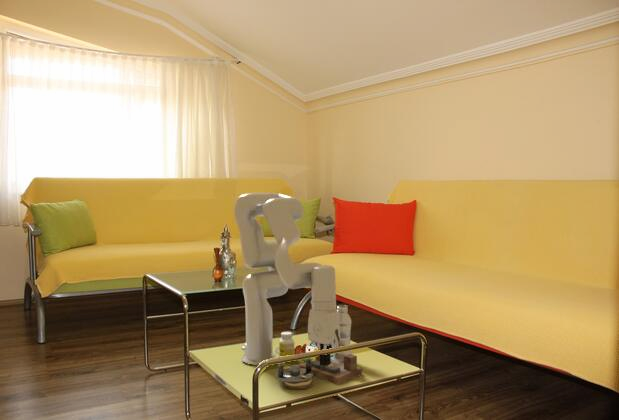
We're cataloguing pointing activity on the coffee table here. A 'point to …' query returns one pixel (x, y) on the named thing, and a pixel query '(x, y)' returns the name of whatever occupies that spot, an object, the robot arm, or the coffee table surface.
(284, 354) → the supplement bottle
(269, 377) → the coffee table surface
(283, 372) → the capstan
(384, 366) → the coffee table surface
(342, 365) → the stand
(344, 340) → the plastic bottle
